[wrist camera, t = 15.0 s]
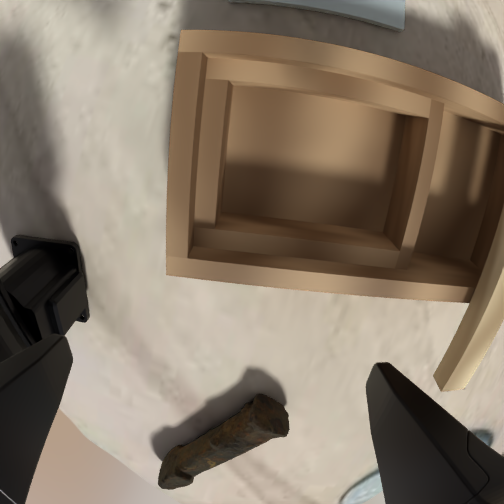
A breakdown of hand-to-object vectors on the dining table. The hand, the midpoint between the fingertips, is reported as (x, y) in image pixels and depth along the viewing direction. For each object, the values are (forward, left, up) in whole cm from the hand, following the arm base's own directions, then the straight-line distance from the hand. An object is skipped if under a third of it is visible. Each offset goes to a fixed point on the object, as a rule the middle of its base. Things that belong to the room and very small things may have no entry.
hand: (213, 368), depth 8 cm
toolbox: (+7, +4, -12) cm, 14 cm away
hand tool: (-1, -23, -12) cm, 26 cm away
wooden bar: (+14, +1, -7) cm, 16 cm away
